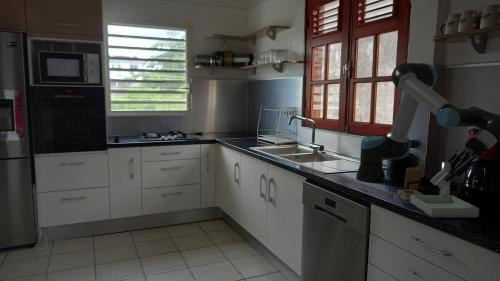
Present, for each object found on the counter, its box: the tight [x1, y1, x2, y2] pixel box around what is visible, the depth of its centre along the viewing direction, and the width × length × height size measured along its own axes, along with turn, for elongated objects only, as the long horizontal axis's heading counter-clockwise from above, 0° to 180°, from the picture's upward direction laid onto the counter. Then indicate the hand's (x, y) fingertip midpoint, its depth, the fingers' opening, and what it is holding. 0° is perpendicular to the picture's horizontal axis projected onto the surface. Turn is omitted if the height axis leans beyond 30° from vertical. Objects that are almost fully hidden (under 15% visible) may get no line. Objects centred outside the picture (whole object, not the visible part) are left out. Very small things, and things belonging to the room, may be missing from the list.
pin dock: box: [396, 189, 424, 201], centre depth 162 cm, size 8×8×3 cm
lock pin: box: [439, 161, 452, 198], centre depth 145 cm, size 4×4×14 cm
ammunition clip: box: [402, 165, 422, 191], centre depth 175 cm, size 11×2×12 cm, turn 119°
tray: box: [409, 194, 480, 218], centre depth 146 cm, size 18×18×4 cm
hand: (435, 184), depth 145 cm, fingers closed on lock pin, 3 cm apart
